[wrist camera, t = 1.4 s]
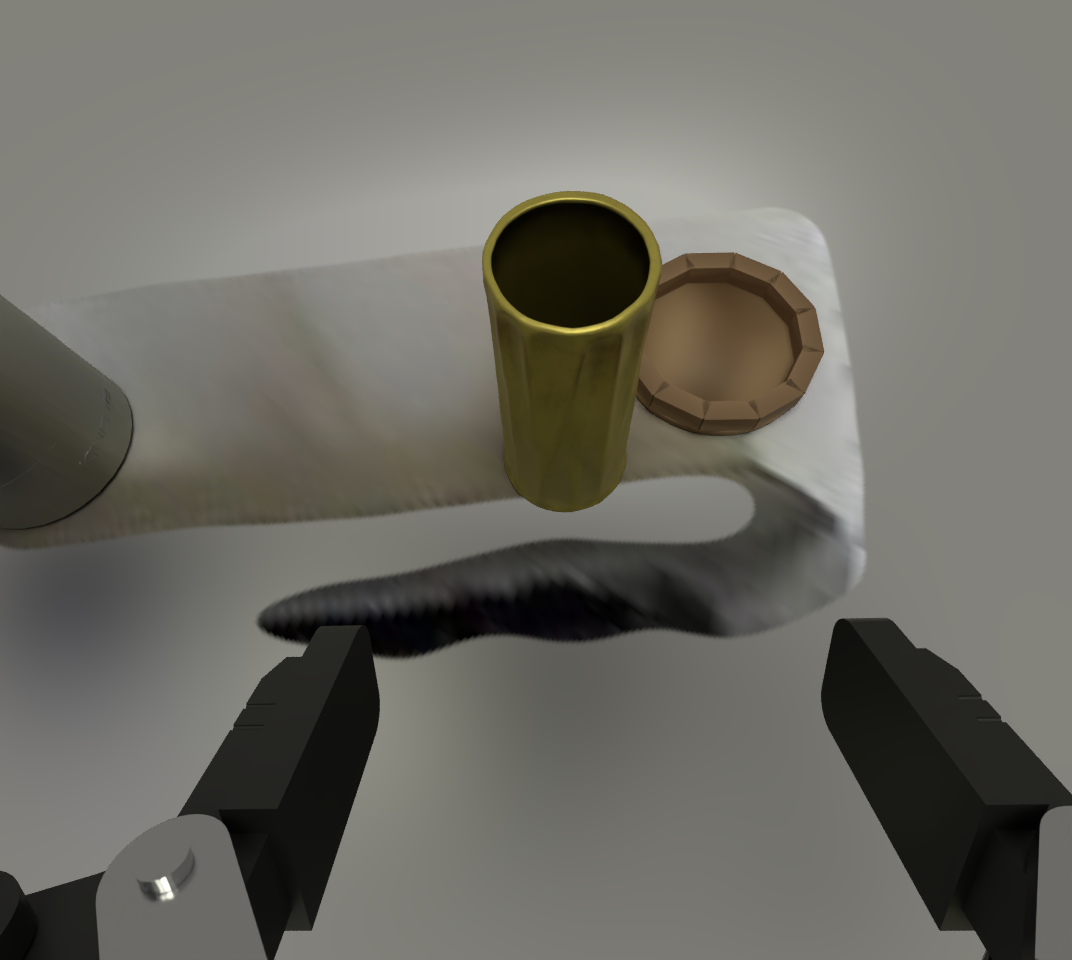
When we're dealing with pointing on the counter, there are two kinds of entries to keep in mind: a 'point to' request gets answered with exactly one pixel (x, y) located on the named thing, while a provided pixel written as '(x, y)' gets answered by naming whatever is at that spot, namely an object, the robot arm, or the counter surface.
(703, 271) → the round tray
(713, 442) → the counter surface
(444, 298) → the counter surface
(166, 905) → the robot arm
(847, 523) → the counter surface
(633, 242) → the vase
